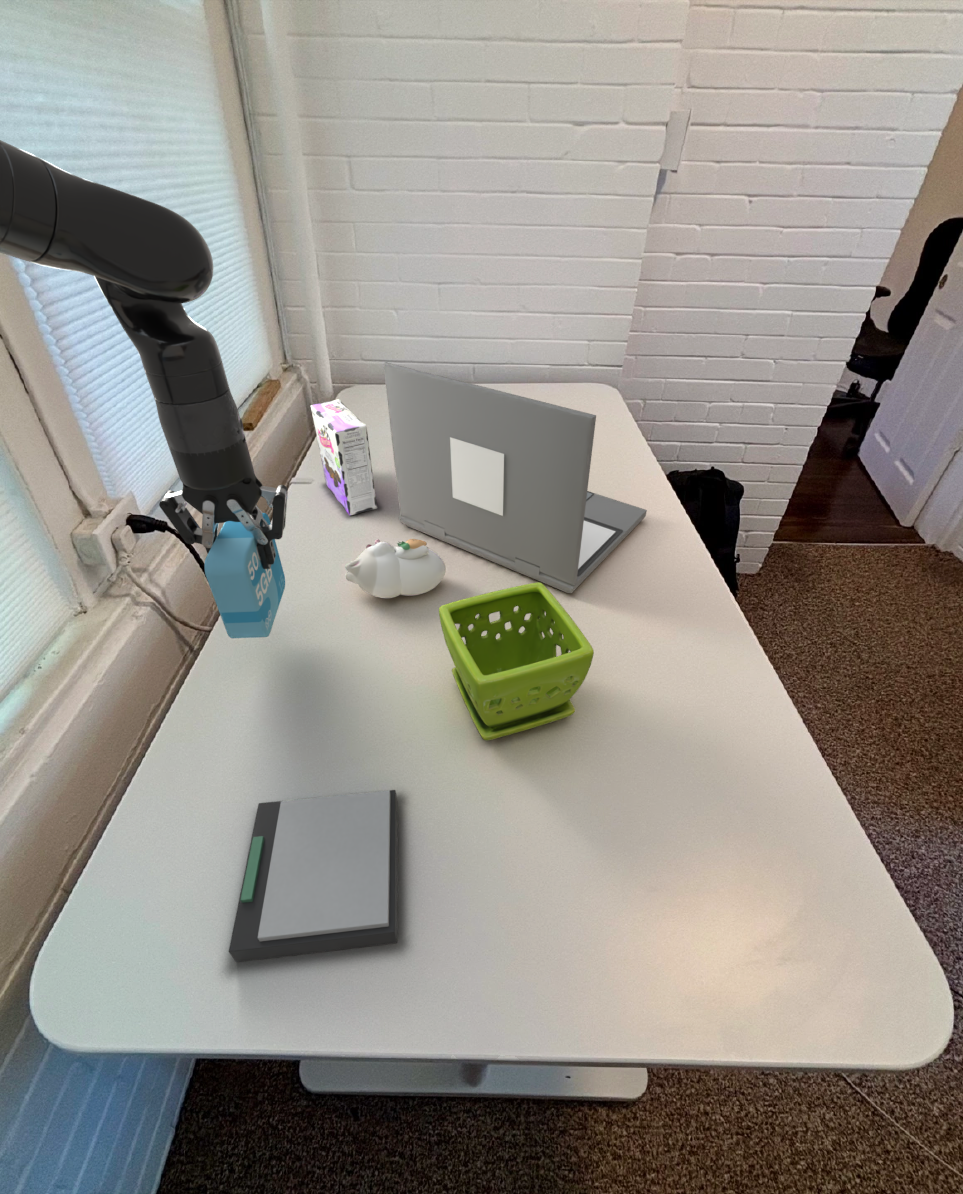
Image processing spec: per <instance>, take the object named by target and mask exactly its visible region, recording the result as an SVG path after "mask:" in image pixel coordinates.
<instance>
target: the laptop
mask: <svg viewBox="0 0 963 1194" xmlns="http://www.w3.org/2000/svg"><path fill="white" fill-rule="evenodd" d="M382 365H383V375H384V383H385V391H386V401H387V410H388V417H389V418H388V419H389V427H390V436H391V445H392V454H393V461H394V462H393V464H394V471H395V481H396V490H397V499H398V508H399V517H398V520H399V522H400V523H401V524H403V525H405V526H406V527H408V528H410V529H413V530H416V531H418V532H420V533H423V534H425V535H426V536H430V537H433V538H434V539H437V540H440V541H442V542H443V543H447V544H449V545H450V546H451V545H452V546H454V547H456V548H458V549H461V550H463V551H466V552H467V553H471V554H473V555H475V556H478V557H480V558H482V559H485V560H487V561H490V562H493V563H495V564H496V565H500V566H501V567H504V568H506V569H508V570H511V571H514V572H516V573H519V574H521V575H523V576H526V577H527V578H530V579H533V580H535V581H538V582H540V583H542V584H544V585H547V586H550V587H552V588H554V589H557V590H559V591H561V592H564V593H566V594H572V593H573V592H575V591H576V589H577V588H578V587H579V586H580V585H581V584H582V583H583V582H584V581H585V580H586V579H587V578H588V577H589V576H590V575H591V574H592V573H593V572H594V571H595V570H596V568H598V567H599V565H601V564H602V562H603V561H604V560H605V559H606V558H607V557H608V556H609V555H610V554H611V553H612V552H613V551H614V550H615V549H616V548H617V547H618V546H619V545H620V544H621V543H622V541H623V540H625V538H626V537H627V536H629V534H630V533H631V532H632V531H633V530H634V529H635V528H637V526H638V525H639V524H640V523H641V522H642V521H643V520H644V519H645V517H647V512H648V510H647V509H645V508H642V507H639V506H636V505H632V504H629V503H626V502H623V501H620V500H617V499H614V498H611V497H608V496H606V495H605V496H604V495H602V494H598V493H595V492H593V491H589V490H588V489H589V482H590V481H589V480H590V474H591V473H590V472H591V465H592V457H593V455H592V454H593V446H594V439H595V432H596V431H595V430H596V429H595V428H596V421H597V414H593V413H589V412H585V411H582V410H577V409H573V408H569V407H566V406H561V405H557V404H555V403H550V402H546V401H541V400H536V399H533V398H530V397H525V396H522V395H518V394H514V393H510V392H506V391H502V390H498V389H494V388H490V387H486V386H482V385H479V384H474V383H471V382H466V381H462V380H458V379H455V378H451V377H446V376H443V375H438V374H434V373H432V372H427V371H422V370H419V369H414V368H411V367H407V366H403V365H400V364H395V363H392V362H388V361H385V362H384V363H383V364H382Z"/></svg>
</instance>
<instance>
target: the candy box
mask: <svg viewBox="0 0 963 1194" xmlns="http://www.w3.org/2000/svg"><path fill="white" fill-rule="evenodd" d="M310 410H311V416H312V420H313V424H314V426H313V427H314V430H315V435H316V439H317V444H318V449H319V453H320V458H321V464H322V468H323V475H324V480H325V484H326V486H327V488H328V490H330V492H331V493H332V494H333V496H334V497H335V498H336V500H337V501H338V503H340V505H341V506H342V507H343V508H342V509H344V510H345V512H346V513H347V514H348V515H349V516H353V515H357V514H361V513H365V512H369V511H373V510H377V509H378V503H377V496H376V489H375V481H374V473H373V466H372V458H371V448H370V442H369V441H370V440H369V433H368V427H367V424H366V423H364V422H363V421H362V420H360V418H359V417H357V415H356V414H354V413H353V411H352V410H350V408H348V407H347V406H346V405H345V404H344V403H343V402H342V400H341V399H340V398H338V399H333V400H329V401H328V400H327V401H324V402H320V403H314V404H311V405H310Z"/></svg>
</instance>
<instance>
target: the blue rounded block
mask: <svg viewBox="0 0 963 1194" xmlns="http://www.w3.org/2000/svg"><path fill="white" fill-rule="evenodd" d="M262 514H263V518H264V519H265V521H266V522H267V524H268V525H271V524H272V522H271V519H270V517H269V515H268V514H267V513H266V512H262ZM272 541H273V545H274V548H275V552H276V557H275V561H274V564H271V568H270V569H263V565H262V562H261V558H260V555H259V552H258V548H257V543H258V542H257V540H256V539H255V538H254V536H253V535H252V533H251V532H250V531H247V530H246V529H245V527H244V526H243V525H242V523H241V522H233V521H227V522H224V523H223V525H222V526H221V529H220V530H219V531H218V535H217V538H216V540H215V541H214V543H213V545H212V547H211V549H210V551H209V553H208V554H207V555H206V557H205V559H204V574H205V578H206V580H207V583H208V585H209V589H210V591H211V594H212V596H213V599H214V602H215V604H216V607H217V610H218V613H219V615H220V618H221V621H222V623H223V626H224V628H225V631H226V634H227V636H228V637H229V638H230V639H252V638H253V639H255V638H267V637H269V636H270V634H271V631H272V629H273V625H274V623H275V619H276V616H277V613H278V610H279V608H280V607H279V606H280V604H281V602H282V597H283V594H284V591H285V589H286V577H285V572H284V569H283V564H282V562H281V557H280V553H279V551H278V550H279V549H278V546H277V542H276V539H273V540H272Z"/></svg>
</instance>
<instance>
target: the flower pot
mask: <svg viewBox="0 0 963 1194" xmlns="http://www.w3.org/2000/svg"><path fill="white" fill-rule="evenodd" d="M516 607H517V610H515V608H516ZM495 613H499V619H496V620H493V621H491V620H490V615H491V614H495ZM528 614H530V615H529V618H528V619H525V618H526V615H528ZM438 615H439V622H440V627H441V630H442V634H443V638H444V641H445V645H446V648H447V650H448V652H449V655H450V657H451V659H452V662H453V665H454V667H453V668H451V674H452V676H453V678H454V681H455V683H456V686H457V689H458V690H459V692H460V695H461V697H462V699H463V702H464V704H465V706H466V709H467V712H468V714H469V716H470V717H471V719H472V721H473V724H474V726H475V728H476V729H477V732H478V733H479V735H480V737H481V738H482V740H483V741H493V740H495V739H499V738H502V737H506V736H509V735H513V734H517V733H521V732H523V731H524V732H525V731H527V730H530V729H534V728H537V727H540V726H543V725H547V724H549V723H553V722H556V721H560V720H563V719H565V718H568V717H570V716H571V715H574V714H575V712H576V708H575V706H574V704H573V702H572V701H571V698H573V696H575V694H576V693H577V691H579V689H580V688H581V686H582V684H584V681H585V680H586V677H587V675H588V674H589V671H590V668H591V665H592V662H593V658H594V653H595V652H594V648H593V646H592V645H591V643H590V642H589V640H588V639H587V637H586V636H585V634H584V633H583V631H582V630H581V629H580V627H579V626H578V625H577V624H576V622H575V621H574V620H573V618H572V617H571V615H570V614H569V612H567V610H565V608H564V607H563V605H562V604H561V602H559V600H557V598H556V596H554V595H553V594H552V592H551V591H550V590H549V589H548V588H547V587H546V586H545V584H544V583H542V582H540V581H538V582H532V583H526V584H521V585H515V586H512V587H508V588H503V589H498V590H495V591H490V592H487V593H483V594H477V595H473V596H470V597H466V598H463V599H459V600H456V601H452V602H448V603H444V604H442V605H440V606H439V608H438ZM477 615H478V616H477ZM507 623H510V628H506V624H507ZM456 625H459V626H458V628H457V626H456ZM471 625H472V628H470V629H469V626H471ZM521 628H524V630H523V631H522V632H520V629H521ZM483 632H486V634H485V635H482V634H483ZM498 634H499V637H498V638H497V635H498ZM543 635H544V636H543ZM463 638H464V639H463ZM464 641H465V642H464ZM557 646H558V647H559V648H560V655H557Z"/></svg>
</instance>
